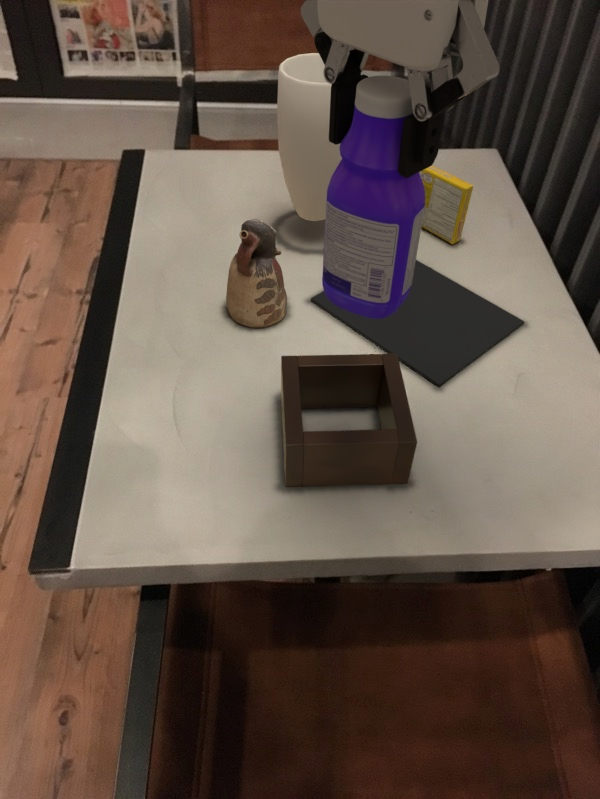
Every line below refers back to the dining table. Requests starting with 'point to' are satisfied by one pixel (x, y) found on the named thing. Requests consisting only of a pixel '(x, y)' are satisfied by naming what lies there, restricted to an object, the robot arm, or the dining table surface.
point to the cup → (306, 134)
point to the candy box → (445, 203)
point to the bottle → (373, 206)
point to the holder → (347, 449)
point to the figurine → (256, 278)
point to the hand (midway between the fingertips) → (380, 151)
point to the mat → (433, 325)
